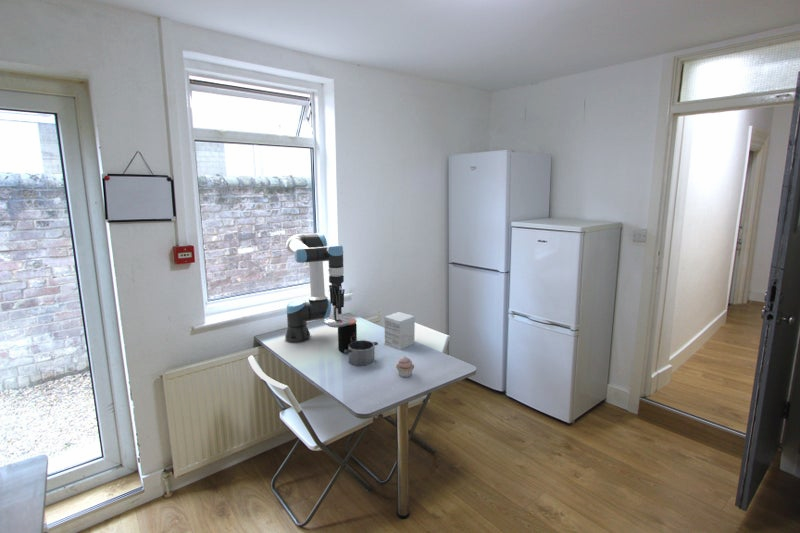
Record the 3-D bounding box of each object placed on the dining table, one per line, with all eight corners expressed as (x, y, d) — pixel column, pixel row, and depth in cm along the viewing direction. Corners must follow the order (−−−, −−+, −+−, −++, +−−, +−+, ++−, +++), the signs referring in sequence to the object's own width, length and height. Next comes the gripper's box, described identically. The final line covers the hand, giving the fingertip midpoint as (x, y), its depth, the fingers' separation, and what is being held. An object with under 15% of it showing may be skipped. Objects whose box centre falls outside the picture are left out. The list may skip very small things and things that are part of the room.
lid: (319, 323, 213) (318, 304, 211) (343, 318, 221) (342, 300, 219) (331, 330, 202) (330, 311, 200) (355, 325, 210) (355, 306, 208)
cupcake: (405, 369, 208) (405, 351, 206) (418, 375, 202) (418, 356, 200) (391, 374, 202) (392, 356, 200) (404, 381, 195) (404, 362, 193)
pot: (351, 370, 206) (351, 354, 204) (338, 361, 217) (338, 345, 215) (384, 360, 218) (384, 345, 216) (370, 352, 229) (370, 337, 227)
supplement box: (398, 338, 251) (398, 311, 247) (414, 343, 242) (415, 316, 239) (383, 344, 241) (383, 316, 237) (400, 350, 232) (400, 321, 229)
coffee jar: (353, 354, 225) (353, 324, 222) (335, 353, 228) (334, 322, 224) (359, 347, 236) (358, 318, 232) (342, 345, 238) (341, 316, 234)
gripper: (322, 273, 210) (324, 315, 215) (336, 278, 197) (338, 324, 202) (335, 271, 215) (336, 313, 219) (350, 276, 202) (351, 321, 206)
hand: (337, 318), depth 211 cm, fingers closed on lid, 3 cm apart
